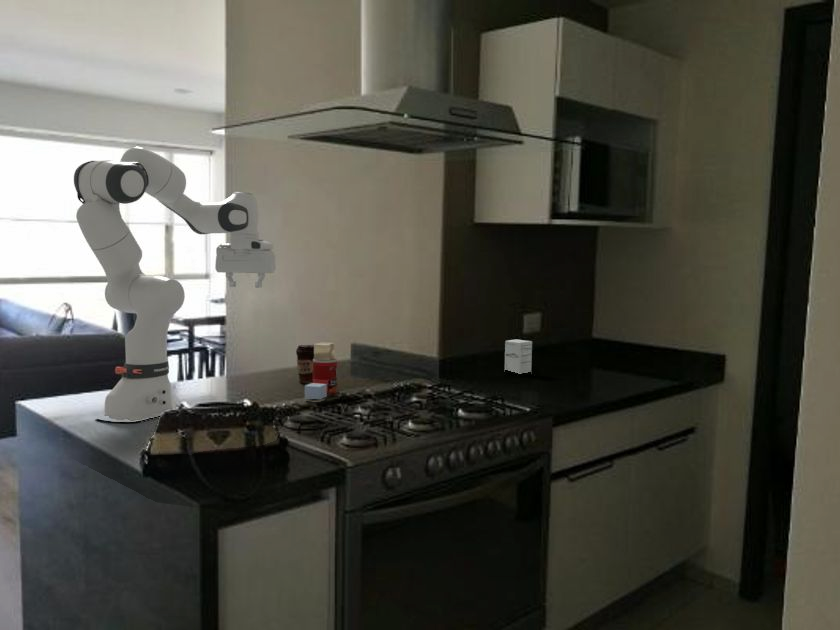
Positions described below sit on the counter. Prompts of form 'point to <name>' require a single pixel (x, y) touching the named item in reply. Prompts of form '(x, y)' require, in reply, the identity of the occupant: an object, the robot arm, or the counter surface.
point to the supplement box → (518, 356)
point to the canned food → (326, 374)
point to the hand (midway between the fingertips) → (245, 287)
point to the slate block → (315, 391)
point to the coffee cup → (305, 363)
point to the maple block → (324, 351)
